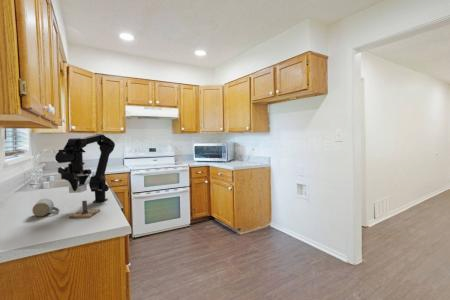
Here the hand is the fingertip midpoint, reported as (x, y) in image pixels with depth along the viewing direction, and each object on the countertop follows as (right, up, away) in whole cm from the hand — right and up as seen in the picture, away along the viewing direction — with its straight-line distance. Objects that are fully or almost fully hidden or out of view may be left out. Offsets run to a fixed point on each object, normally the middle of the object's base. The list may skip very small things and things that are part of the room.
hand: (78, 189), depth 128 cm
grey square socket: (0, -1, 0) cm, 1 cm away
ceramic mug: (-11, -12, -8) cm, 18 cm away
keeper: (+10, -11, -10) cm, 18 cm away
